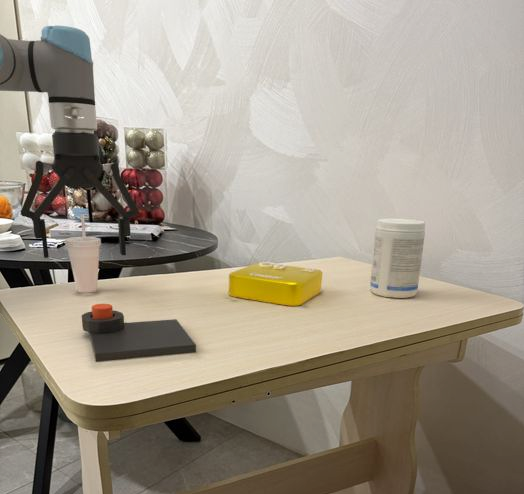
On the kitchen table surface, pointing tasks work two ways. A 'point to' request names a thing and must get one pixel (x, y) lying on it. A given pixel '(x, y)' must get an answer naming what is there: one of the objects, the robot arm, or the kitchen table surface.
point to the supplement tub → (397, 257)
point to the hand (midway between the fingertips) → (85, 255)
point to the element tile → (275, 283)
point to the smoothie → (84, 260)
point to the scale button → (102, 311)
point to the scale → (135, 338)
